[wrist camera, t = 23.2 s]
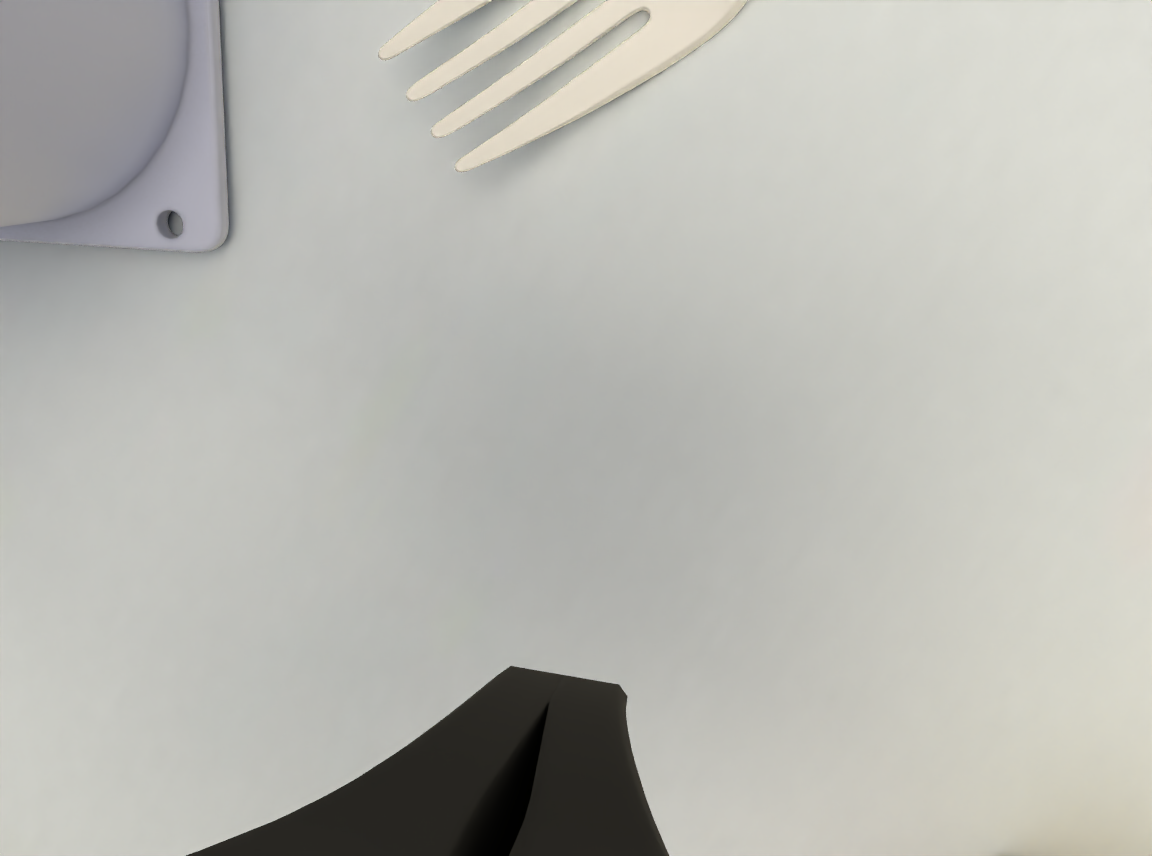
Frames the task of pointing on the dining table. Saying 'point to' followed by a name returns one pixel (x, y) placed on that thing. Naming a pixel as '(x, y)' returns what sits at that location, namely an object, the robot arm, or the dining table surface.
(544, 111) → the fork
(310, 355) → the dining table surface
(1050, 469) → the dining table surface
